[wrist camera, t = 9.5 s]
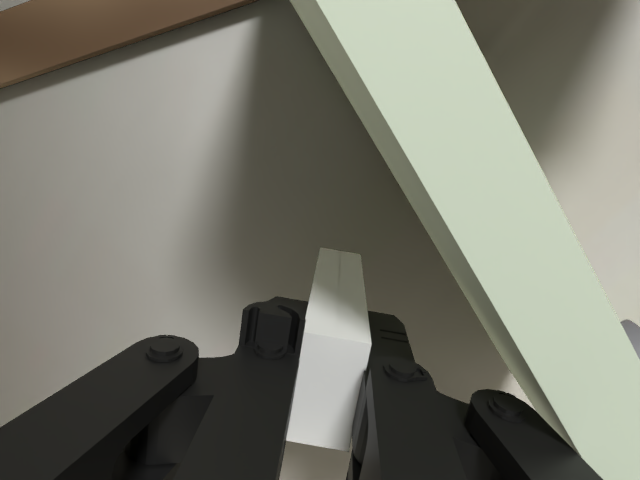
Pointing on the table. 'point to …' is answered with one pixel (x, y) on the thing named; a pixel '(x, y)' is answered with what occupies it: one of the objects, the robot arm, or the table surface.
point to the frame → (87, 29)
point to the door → (489, 214)
